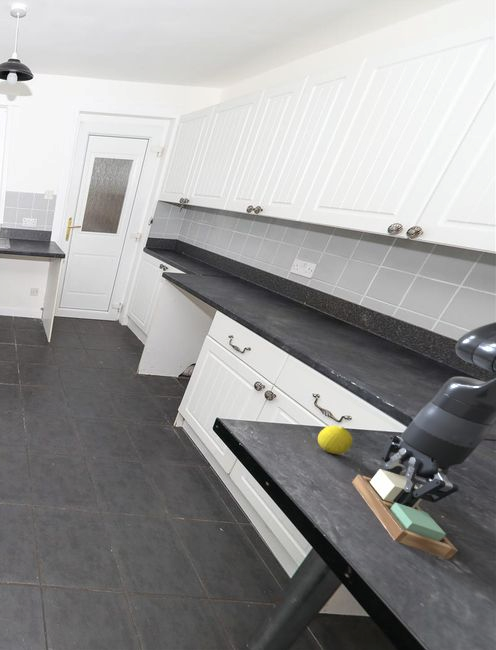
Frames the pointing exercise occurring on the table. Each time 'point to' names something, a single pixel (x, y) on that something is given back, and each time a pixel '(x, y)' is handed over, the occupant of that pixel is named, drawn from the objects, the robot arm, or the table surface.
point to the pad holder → (394, 527)
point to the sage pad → (417, 521)
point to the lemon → (335, 439)
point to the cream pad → (389, 485)
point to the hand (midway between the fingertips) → (391, 494)
